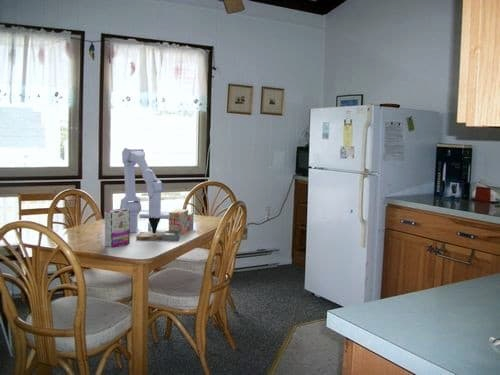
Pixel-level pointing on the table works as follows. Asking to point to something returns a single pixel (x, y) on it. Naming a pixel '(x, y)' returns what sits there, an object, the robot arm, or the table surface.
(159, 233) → the tile
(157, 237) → the board
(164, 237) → the tray
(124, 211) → the candy bar box
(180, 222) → the stack of blocks
